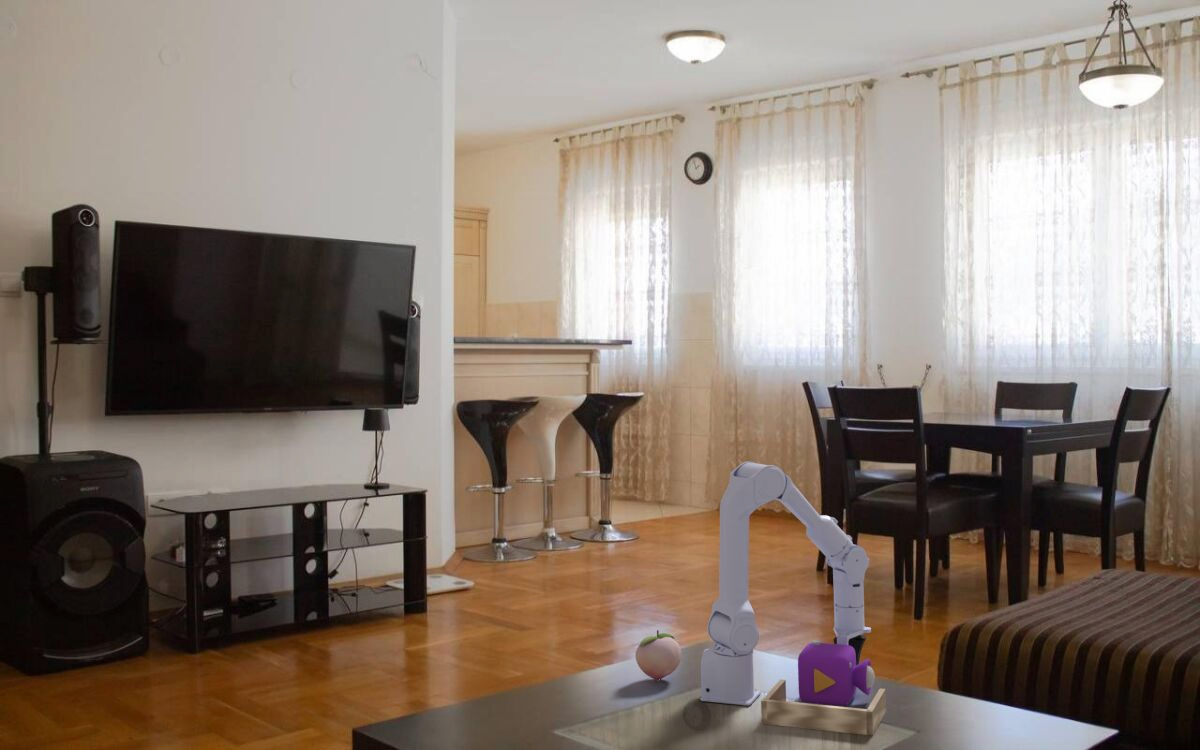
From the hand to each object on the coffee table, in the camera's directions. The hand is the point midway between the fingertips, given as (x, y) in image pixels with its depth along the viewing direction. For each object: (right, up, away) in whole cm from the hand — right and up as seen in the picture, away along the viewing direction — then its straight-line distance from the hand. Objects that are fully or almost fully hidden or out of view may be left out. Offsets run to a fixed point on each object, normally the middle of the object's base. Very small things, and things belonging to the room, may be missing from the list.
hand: (850, 674), depth 217 cm
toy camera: (-5, -2, -12) cm, 13 cm away
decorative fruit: (-37, -2, +3) cm, 37 cm away
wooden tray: (-9, -2, -22) cm, 24 cm away
